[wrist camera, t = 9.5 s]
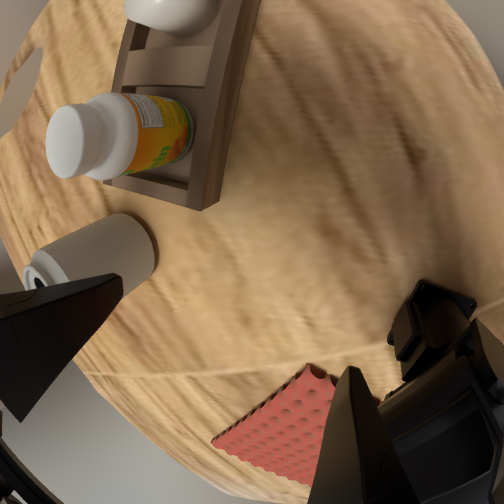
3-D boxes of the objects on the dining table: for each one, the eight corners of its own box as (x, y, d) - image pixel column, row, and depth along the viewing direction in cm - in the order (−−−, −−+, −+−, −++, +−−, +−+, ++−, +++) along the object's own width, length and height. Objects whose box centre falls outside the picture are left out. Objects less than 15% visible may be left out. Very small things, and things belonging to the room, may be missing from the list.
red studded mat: (213, 435, 39) (209, 444, 37) (309, 357, 25) (305, 371, 24) (338, 485, 37) (336, 493, 35) (459, 430, 23) (460, 441, 22)
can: (158, 216, 24) (51, 275, 13) (162, 286, 27) (80, 359, 17) (104, 205, 26) (9, 248, 15) (111, 268, 29) (33, 322, 18)
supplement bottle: (157, 176, 21) (59, 209, 12) (131, 123, 20) (32, 135, 11) (208, 142, 18) (106, 155, 10) (177, 84, 17) (73, 70, 9)
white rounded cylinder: (224, -12, 13) (192, -41, 8) (210, 37, 15) (172, 16, 11) (172, -6, 14) (134, -26, 9) (159, 40, 16) (116, 26, 12)
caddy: (268, -27, 12) (256, -46, 10) (218, 201, 21) (200, 211, 19) (163, -17, 14) (144, -27, 12) (125, 177, 23) (103, 183, 21)
